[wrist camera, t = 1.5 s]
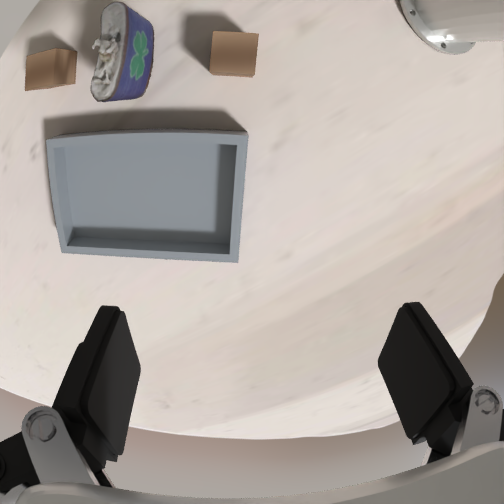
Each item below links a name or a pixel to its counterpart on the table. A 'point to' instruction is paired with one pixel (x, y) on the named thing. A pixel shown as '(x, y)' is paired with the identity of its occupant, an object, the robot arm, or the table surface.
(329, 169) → the table surface
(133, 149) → the tray
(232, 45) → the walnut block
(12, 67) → the table surface
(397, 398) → the robot arm
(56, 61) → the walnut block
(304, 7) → the table surface
